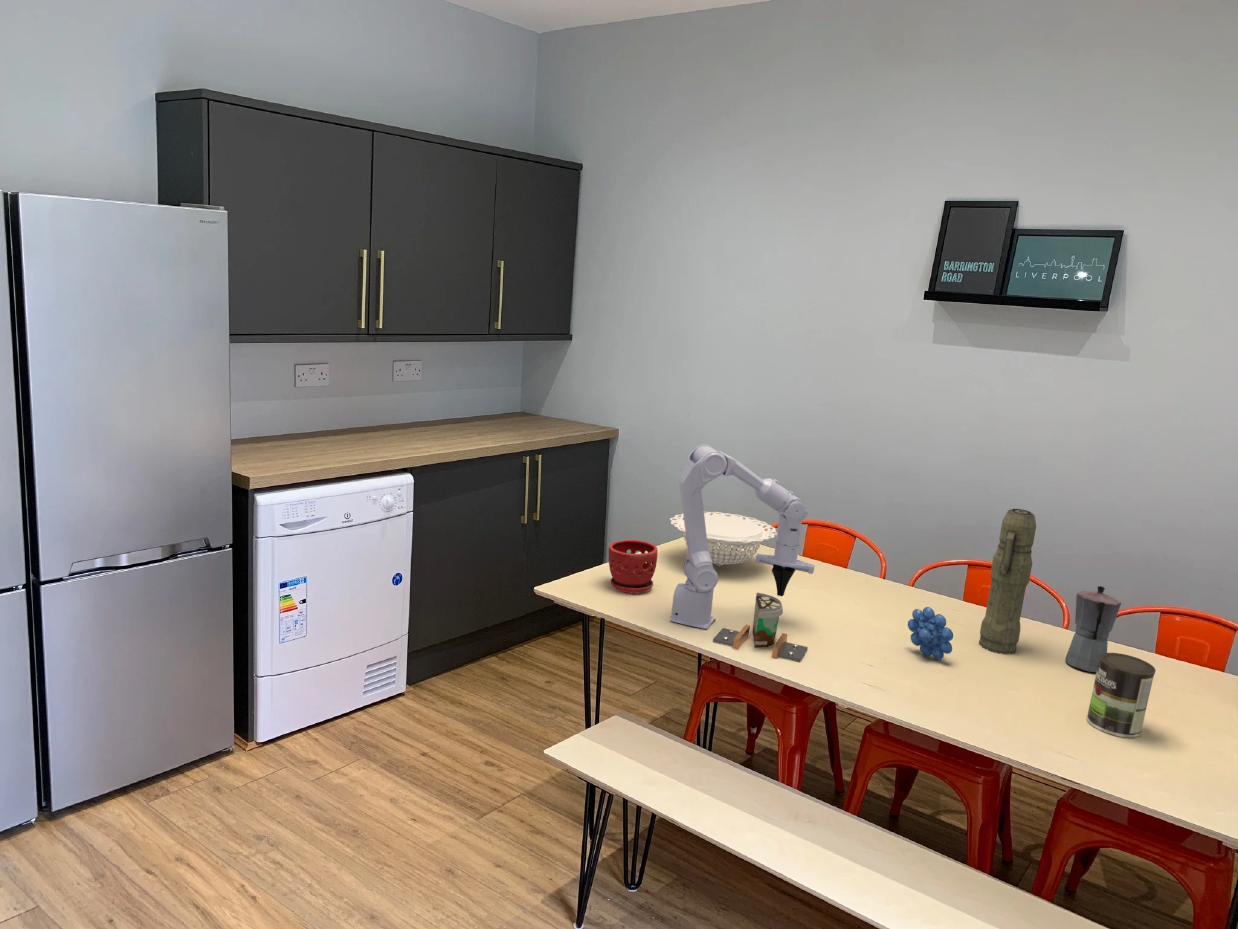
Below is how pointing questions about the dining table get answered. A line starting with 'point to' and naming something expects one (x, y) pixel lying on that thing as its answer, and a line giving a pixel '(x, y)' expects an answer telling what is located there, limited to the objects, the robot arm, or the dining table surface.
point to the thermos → (1008, 582)
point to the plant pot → (632, 565)
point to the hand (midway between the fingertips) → (780, 594)
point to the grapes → (930, 633)
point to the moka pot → (1092, 628)
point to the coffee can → (1120, 694)
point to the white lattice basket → (730, 535)
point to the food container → (766, 620)
